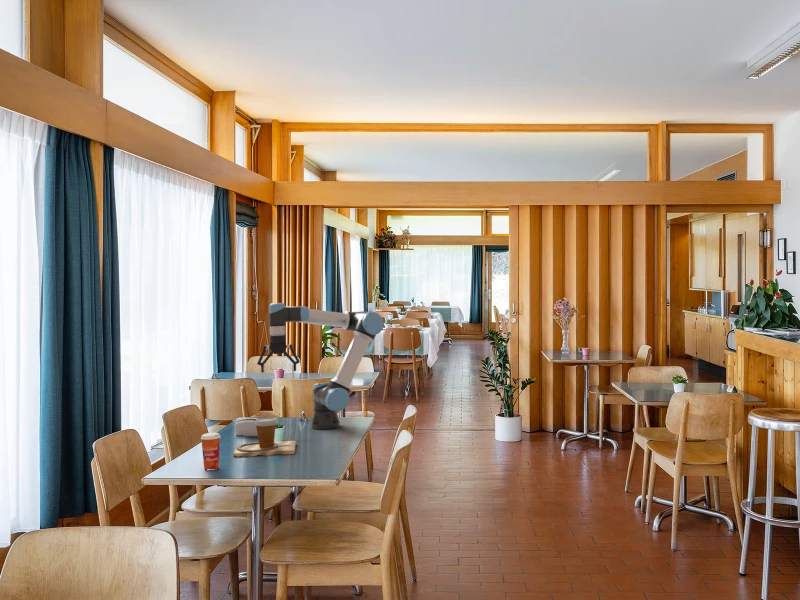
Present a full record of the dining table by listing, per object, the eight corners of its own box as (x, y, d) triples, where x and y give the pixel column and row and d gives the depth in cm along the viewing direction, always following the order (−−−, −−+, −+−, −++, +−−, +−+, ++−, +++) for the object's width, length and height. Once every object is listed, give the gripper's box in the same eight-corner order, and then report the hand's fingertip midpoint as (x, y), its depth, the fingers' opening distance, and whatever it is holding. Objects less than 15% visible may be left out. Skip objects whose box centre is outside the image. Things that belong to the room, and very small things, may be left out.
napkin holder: (270, 434, 347) (267, 416, 344) (267, 439, 343) (264, 421, 340) (239, 433, 351) (236, 416, 347) (236, 438, 346) (232, 421, 343)
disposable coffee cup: (254, 445, 314) (253, 419, 314) (275, 443, 316) (275, 417, 316) (257, 449, 304) (256, 422, 304) (278, 447, 307) (277, 420, 307)
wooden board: (295, 444, 322) (295, 439, 322) (294, 453, 302) (294, 448, 302) (238, 447, 318) (238, 442, 318) (233, 457, 298) (233, 452, 298)
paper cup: (198, 471, 275) (197, 436, 275) (205, 466, 283) (204, 432, 283) (218, 471, 275) (217, 436, 275) (224, 466, 282) (223, 432, 282)
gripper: (250, 336, 332) (252, 380, 332) (303, 334, 335) (304, 378, 335) (252, 335, 339) (253, 378, 339) (303, 333, 342) (305, 376, 343)
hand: (279, 378), depth 337 cm, fingers open, 13 cm apart
